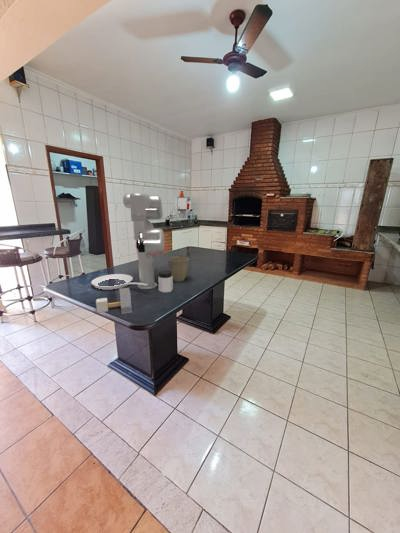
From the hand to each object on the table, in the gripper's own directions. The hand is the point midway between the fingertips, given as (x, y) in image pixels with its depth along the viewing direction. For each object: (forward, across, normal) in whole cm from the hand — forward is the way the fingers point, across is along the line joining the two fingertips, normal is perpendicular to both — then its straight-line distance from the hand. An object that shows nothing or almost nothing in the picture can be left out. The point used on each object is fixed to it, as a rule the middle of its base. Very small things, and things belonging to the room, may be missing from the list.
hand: (140, 250), depth 120 cm
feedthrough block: (+28, +8, -10) cm, 31 cm away
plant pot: (+28, -25, +28) cm, 47 cm away
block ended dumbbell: (+28, +7, -16) cm, 33 cm away
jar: (+28, -9, +15) cm, 33 cm away
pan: (+29, -25, -11) cm, 40 cm away
